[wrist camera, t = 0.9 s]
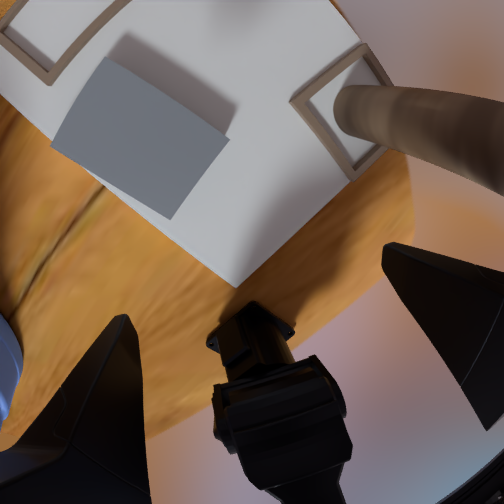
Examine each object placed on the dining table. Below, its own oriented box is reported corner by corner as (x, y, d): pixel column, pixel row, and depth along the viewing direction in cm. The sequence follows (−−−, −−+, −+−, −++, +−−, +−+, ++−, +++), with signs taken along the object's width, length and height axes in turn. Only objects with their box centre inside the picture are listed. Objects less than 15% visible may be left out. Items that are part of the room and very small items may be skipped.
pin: (386, 116, 20) (533, 161, 8) (352, 147, 20) (499, 214, 9) (359, 75, 18) (520, 89, 6) (322, 105, 18) (484, 139, 7)
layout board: (402, 120, 21) (416, 123, 20) (233, 279, 25) (237, 293, 23) (177, -109, 7) (179, -121, 6) (-20, 67, 11) (-33, 66, 9)
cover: (224, 135, 18) (230, 139, 16) (170, 209, 19) (170, 220, 18) (112, 60, 14) (104, 56, 12) (61, 141, 15) (49, 146, 13)
